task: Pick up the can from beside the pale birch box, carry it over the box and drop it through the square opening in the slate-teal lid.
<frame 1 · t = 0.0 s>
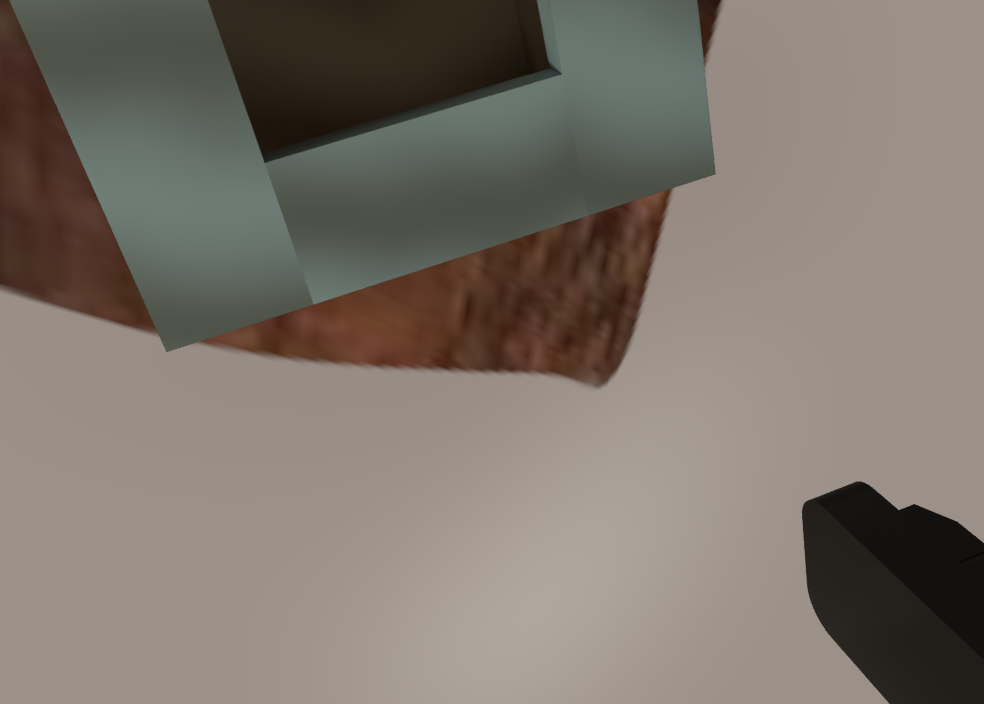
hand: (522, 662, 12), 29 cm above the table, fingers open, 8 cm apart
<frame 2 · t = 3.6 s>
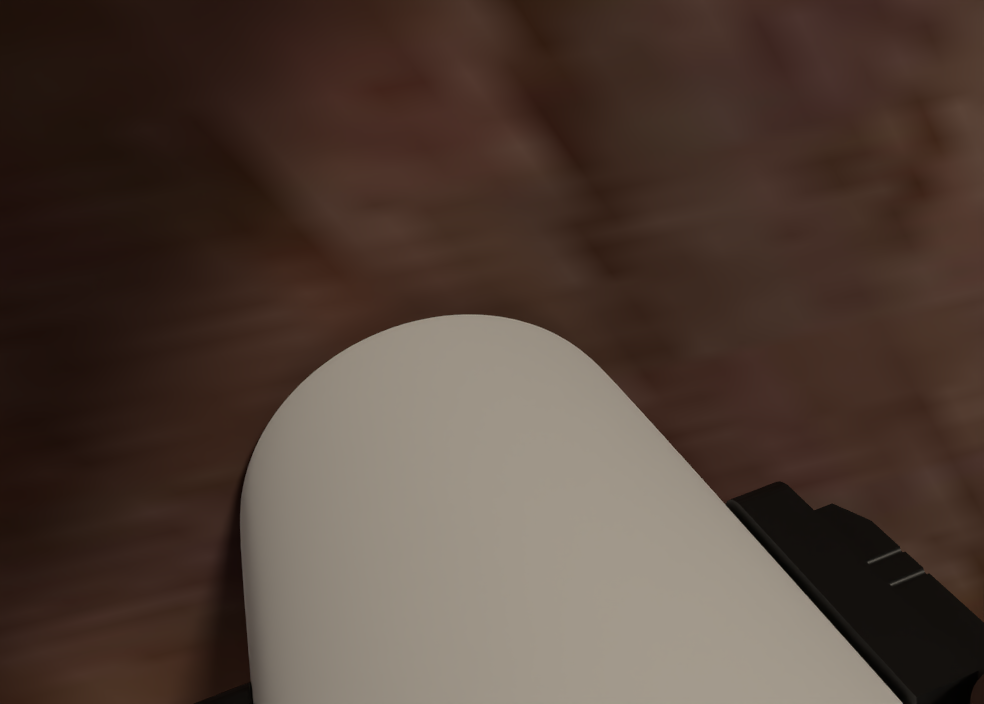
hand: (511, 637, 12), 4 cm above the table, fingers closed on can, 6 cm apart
can: (438, 479, 15), on the table, touching gripper
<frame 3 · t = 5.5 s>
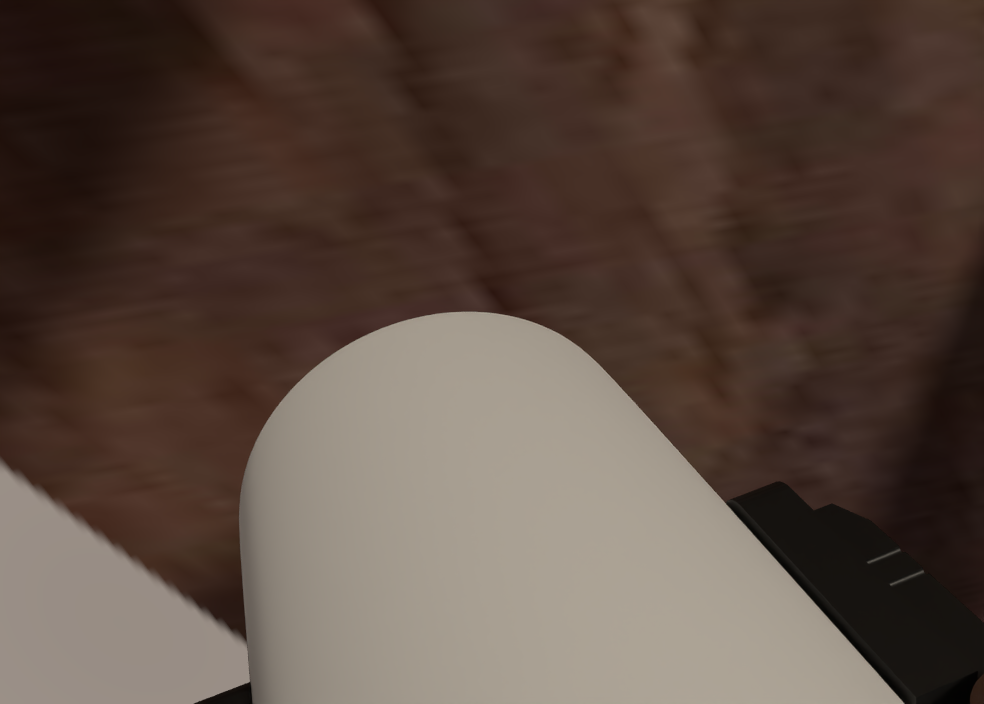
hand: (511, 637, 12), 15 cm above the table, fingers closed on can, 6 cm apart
can: (438, 476, 15), point 11 cm above the table, touching gripper
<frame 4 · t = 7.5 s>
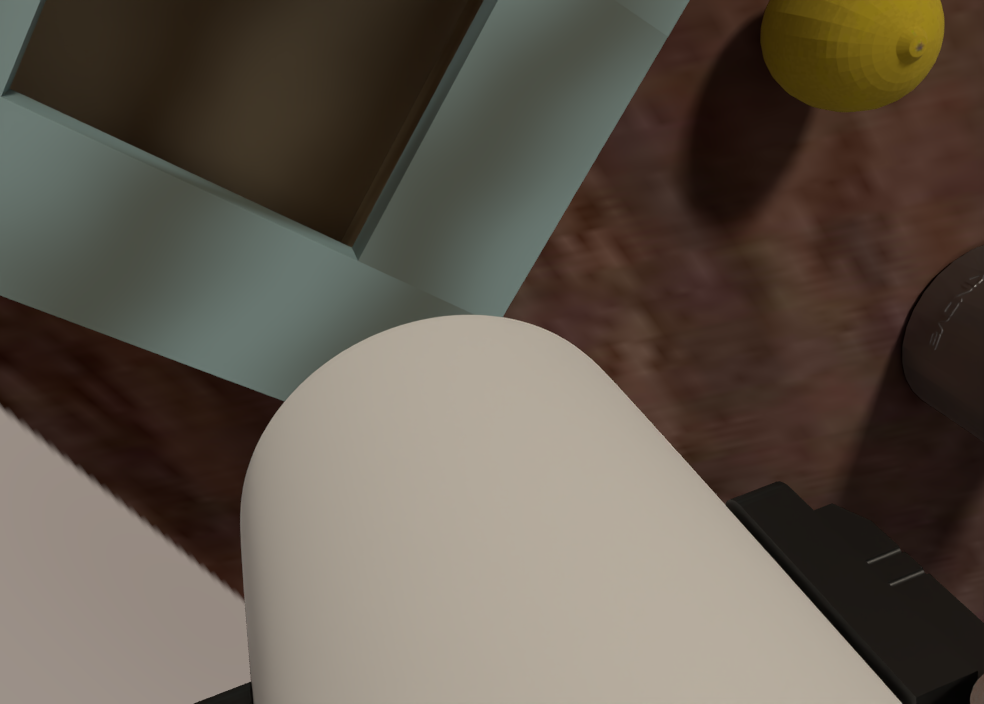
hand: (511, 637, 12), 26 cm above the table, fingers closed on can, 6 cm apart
lemon: (784, 20, 38), on the table
can: (438, 479, 15), point 22 cm above the table, touching gripper
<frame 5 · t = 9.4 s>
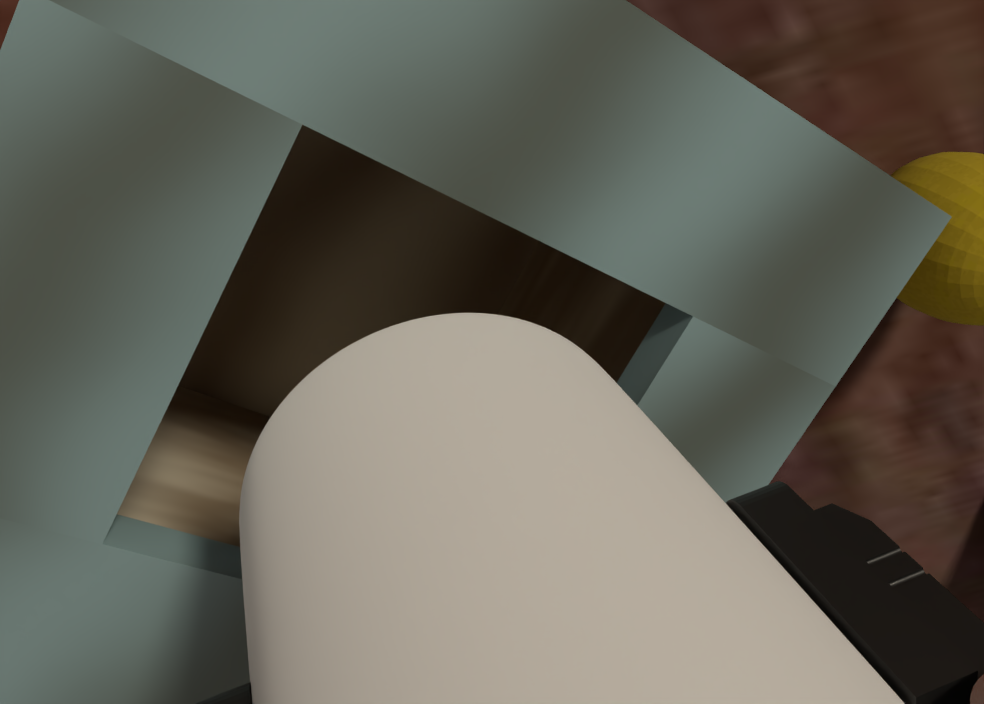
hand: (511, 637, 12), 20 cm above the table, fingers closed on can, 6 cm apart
lemon: (880, 202, 35), on the table
can: (438, 478, 15), point 16 cm above the table, touching gripper
drop box: (316, 206, 29), on the table
when the fingers open (17 cm above the table, at t = 11.1 s): can drops 11 cm, resting on drop box.
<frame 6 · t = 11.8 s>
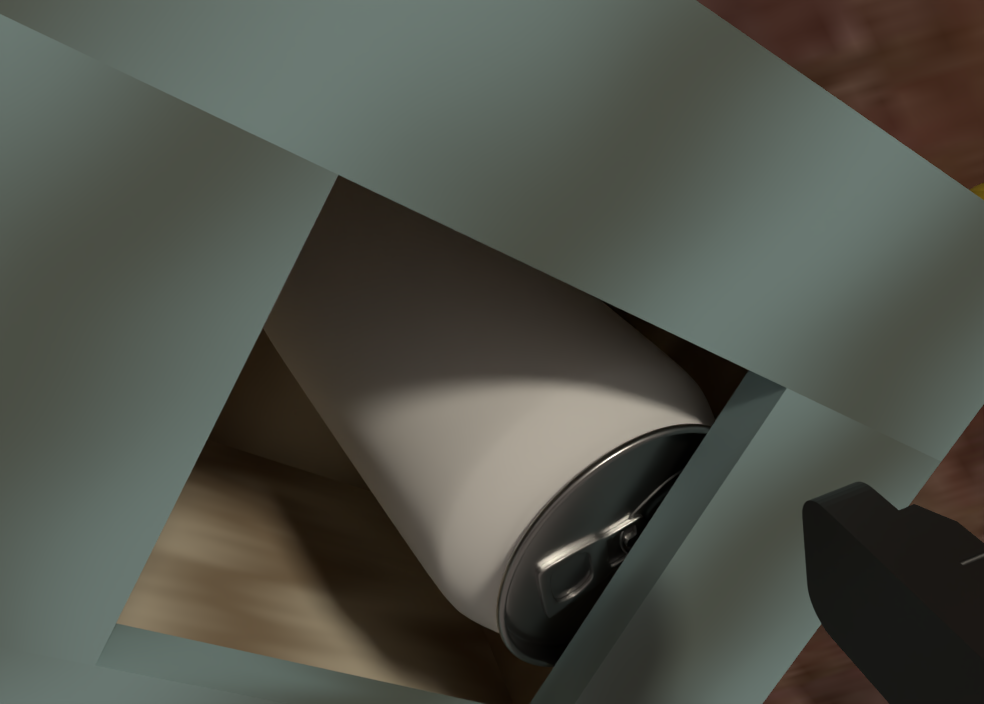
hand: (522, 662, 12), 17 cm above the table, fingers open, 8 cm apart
can: (359, 258, 26), point 1 cm above the table, touching drop box
drop box: (334, 236, 26), on the table
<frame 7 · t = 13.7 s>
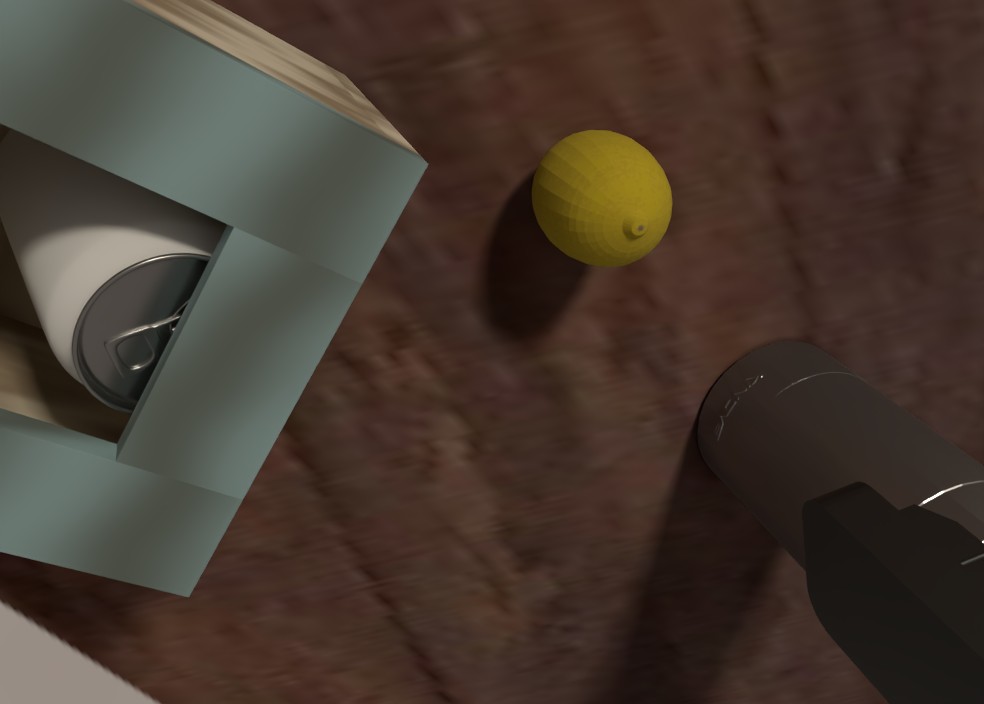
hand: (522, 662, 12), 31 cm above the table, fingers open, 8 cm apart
lemon: (563, 171, 44), on the table
can: (82, 174, 36), point 1 cm above the table, touching drop box
drop box: (69, 159, 37), on the table
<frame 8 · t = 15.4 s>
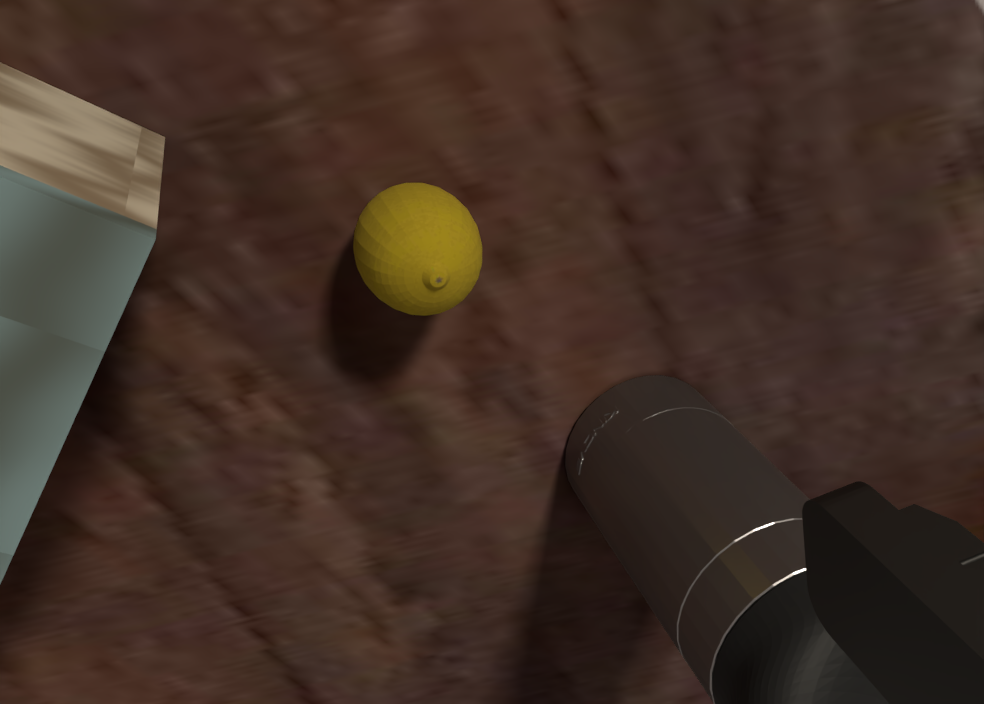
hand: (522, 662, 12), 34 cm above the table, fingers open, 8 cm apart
lemon: (399, 220, 45), on the table
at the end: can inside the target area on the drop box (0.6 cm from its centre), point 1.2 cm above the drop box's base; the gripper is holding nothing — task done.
